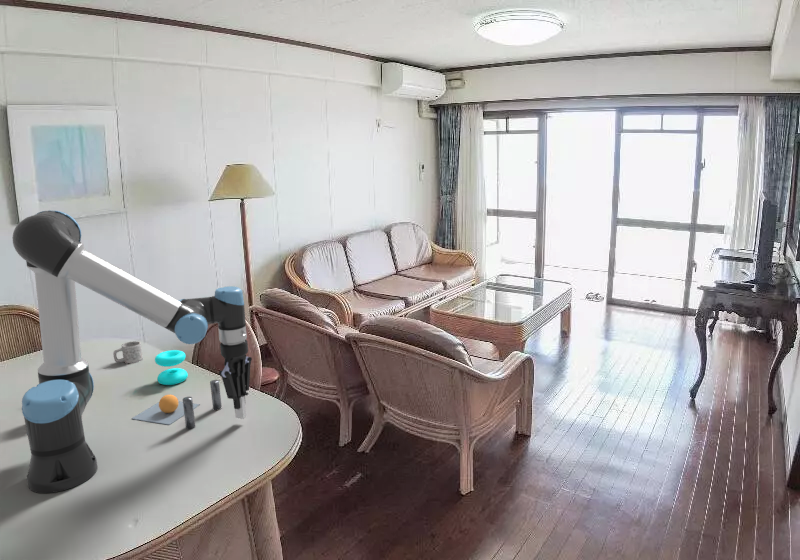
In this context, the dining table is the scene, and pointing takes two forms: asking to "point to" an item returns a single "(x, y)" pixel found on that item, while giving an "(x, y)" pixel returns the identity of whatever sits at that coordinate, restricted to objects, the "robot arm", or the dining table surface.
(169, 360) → the donuts
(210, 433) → the dining table surface
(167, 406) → the ball
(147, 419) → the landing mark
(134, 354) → the mug
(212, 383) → the far post
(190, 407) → the near post
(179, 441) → the dining table surface
